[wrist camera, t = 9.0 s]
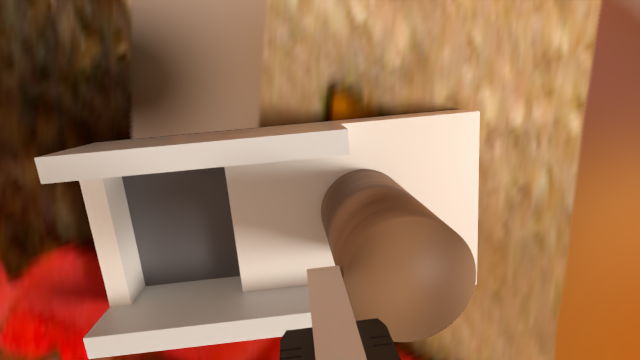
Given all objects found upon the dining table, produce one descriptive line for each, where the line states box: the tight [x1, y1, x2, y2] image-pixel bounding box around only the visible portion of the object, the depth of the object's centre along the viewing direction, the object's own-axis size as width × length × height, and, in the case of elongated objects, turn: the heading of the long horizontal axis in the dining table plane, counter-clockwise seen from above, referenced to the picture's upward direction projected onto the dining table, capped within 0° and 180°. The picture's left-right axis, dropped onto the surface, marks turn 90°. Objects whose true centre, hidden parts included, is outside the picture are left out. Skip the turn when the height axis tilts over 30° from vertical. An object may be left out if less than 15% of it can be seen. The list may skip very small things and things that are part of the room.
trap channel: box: [34, 109, 480, 359], centre depth 26 cm, size 27×13×6 cm, turn 95°
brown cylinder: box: [321, 169, 476, 342], centre depth 21 cm, size 6×6×10 cm
